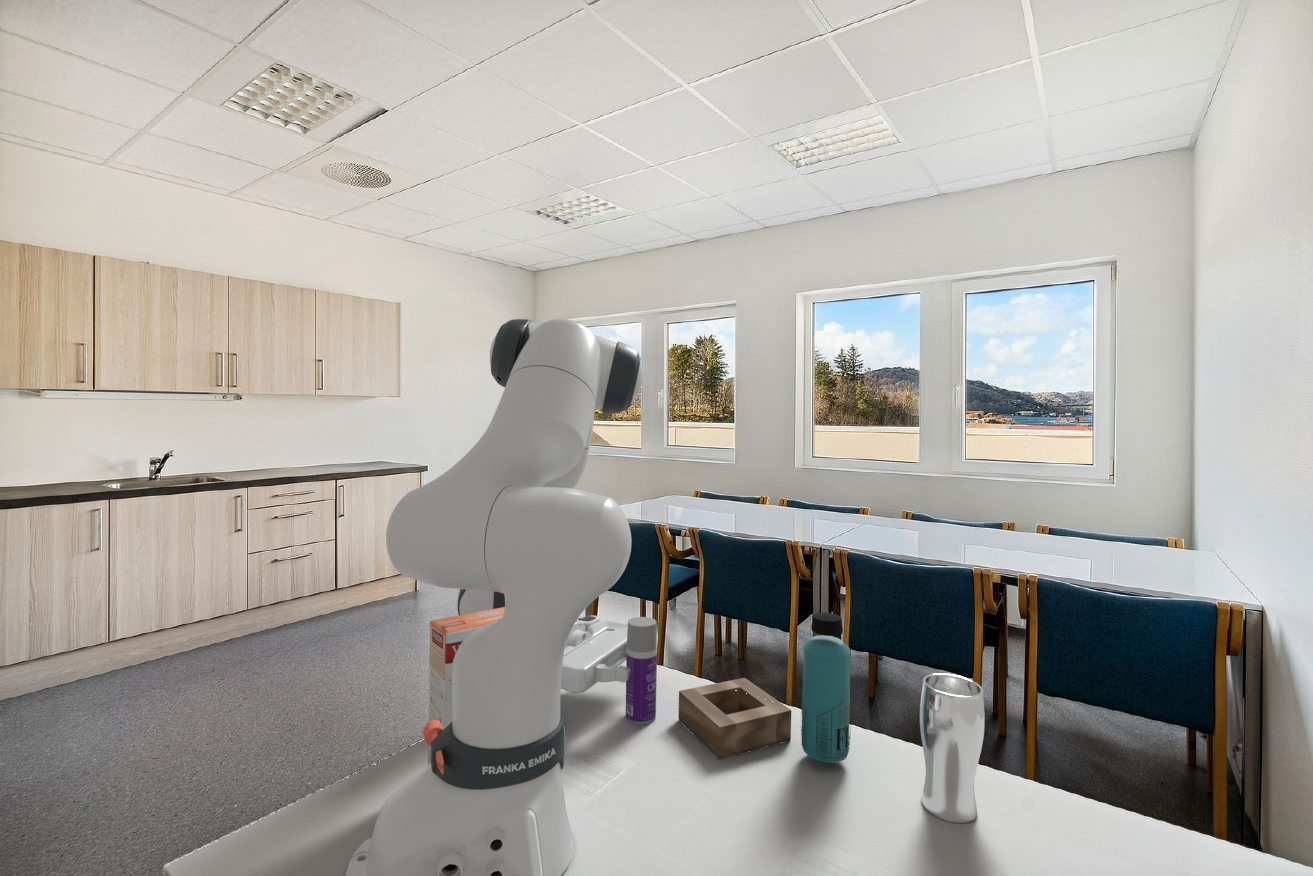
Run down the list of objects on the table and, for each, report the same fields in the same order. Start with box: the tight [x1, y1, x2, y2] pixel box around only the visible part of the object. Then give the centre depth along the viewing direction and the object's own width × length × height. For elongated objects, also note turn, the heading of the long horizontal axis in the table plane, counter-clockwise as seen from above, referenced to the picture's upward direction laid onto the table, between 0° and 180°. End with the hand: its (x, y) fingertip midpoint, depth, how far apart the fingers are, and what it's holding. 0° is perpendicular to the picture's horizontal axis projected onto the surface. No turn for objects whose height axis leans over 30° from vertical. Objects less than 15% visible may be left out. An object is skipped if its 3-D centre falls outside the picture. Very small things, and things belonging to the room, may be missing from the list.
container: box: [625, 616, 658, 726], centre depth 94 cm, size 5×5×15 cm
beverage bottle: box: [800, 612, 852, 763], centre depth 83 cm, size 6×7×20 cm
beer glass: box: [919, 672, 985, 824], centre depth 74 cm, size 7×7×15 cm
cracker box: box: [427, 607, 505, 766], centre depth 78 cm, size 14×6×21 cm, turn 129°
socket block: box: [677, 677, 792, 761], centre depth 91 cm, size 12×12×4 cm
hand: (642, 663), depth 94 cm, fingers open, 8 cm apart
